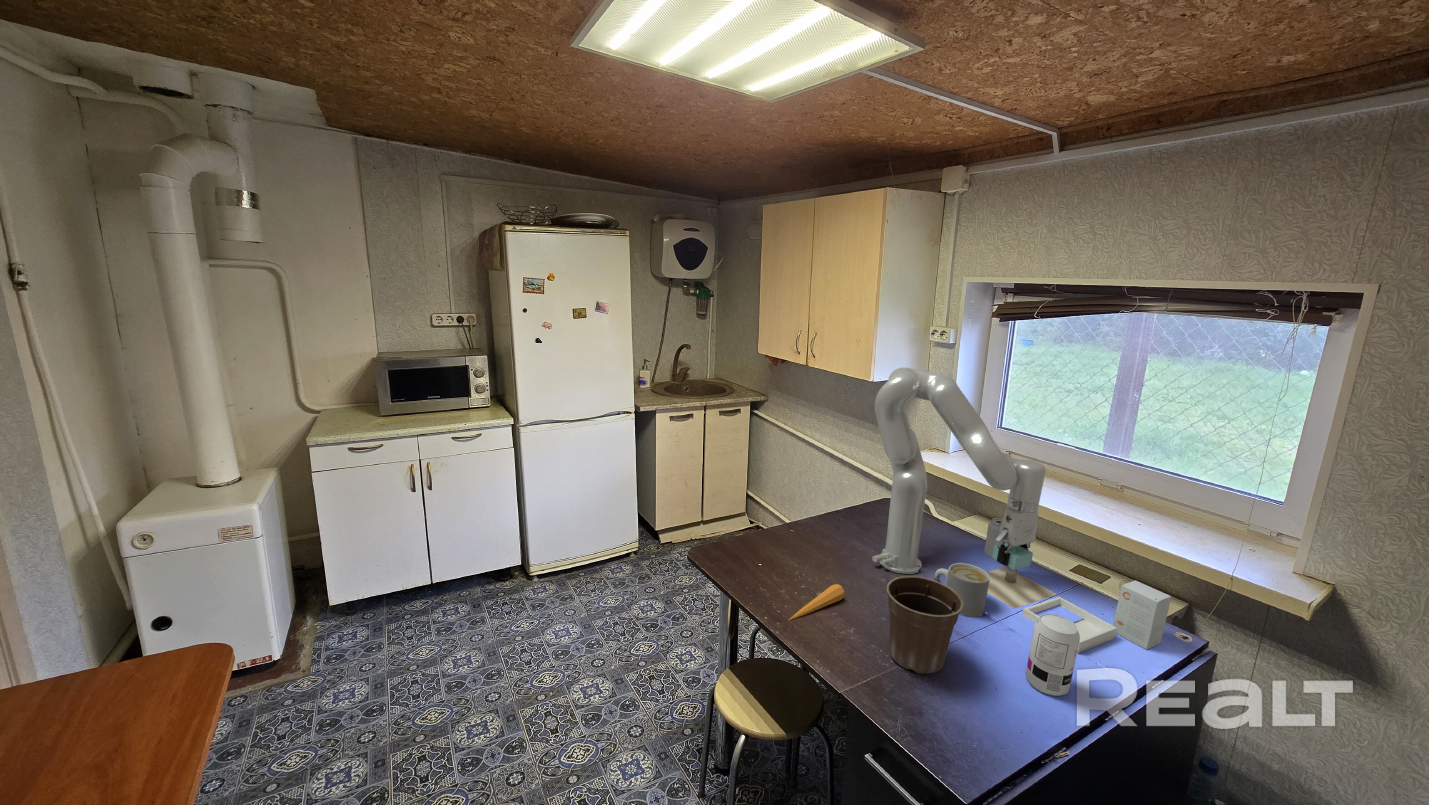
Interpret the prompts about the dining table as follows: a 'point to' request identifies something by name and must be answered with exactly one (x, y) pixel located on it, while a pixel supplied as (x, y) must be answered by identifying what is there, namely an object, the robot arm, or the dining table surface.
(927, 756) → the dining table surface
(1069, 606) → the tray
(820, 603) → the carrot
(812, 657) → the dining table surface
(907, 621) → the plant pot
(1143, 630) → the small box
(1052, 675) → the supplement can
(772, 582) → the dining table surface
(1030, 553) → the collar
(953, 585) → the coffee mug
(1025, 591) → the stake base
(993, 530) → the can
